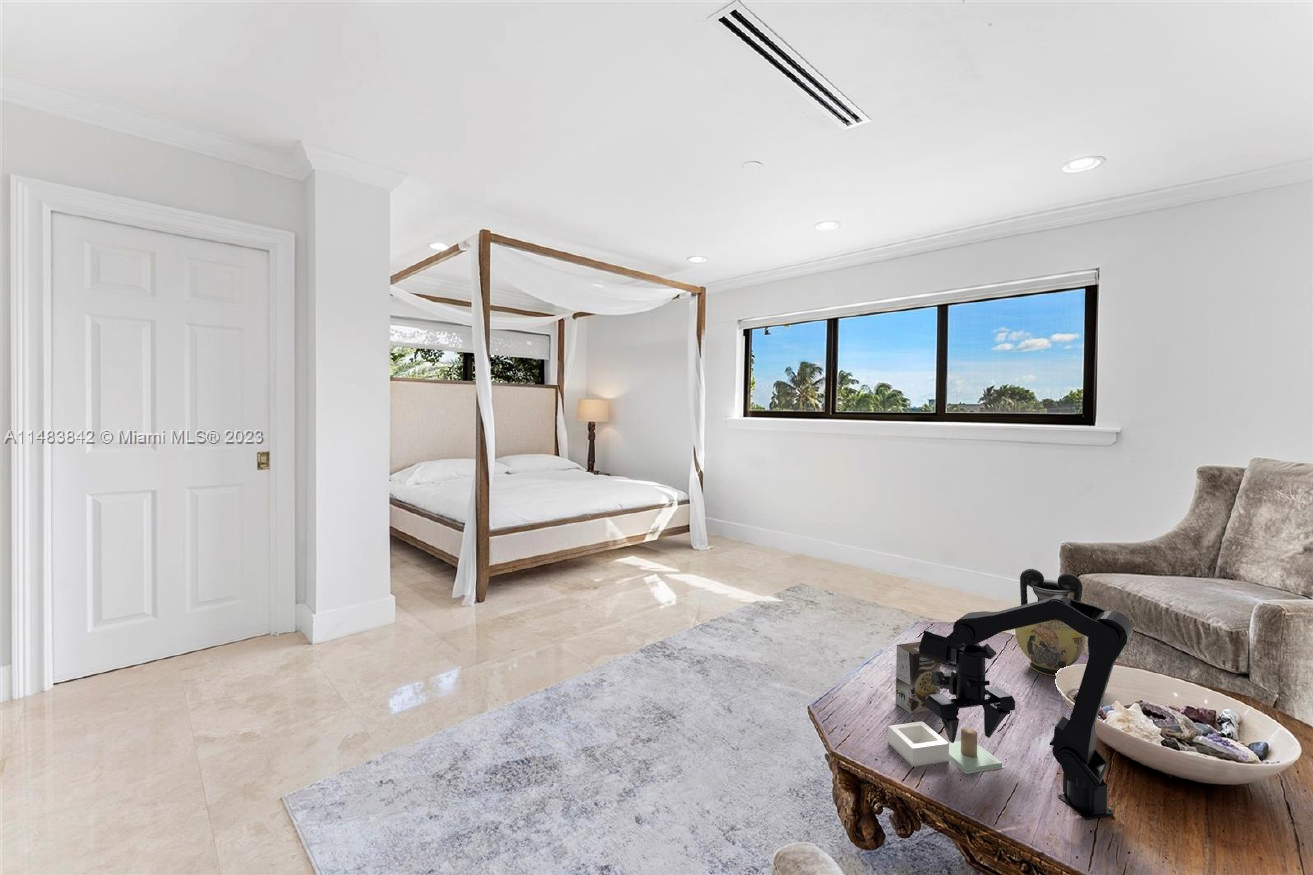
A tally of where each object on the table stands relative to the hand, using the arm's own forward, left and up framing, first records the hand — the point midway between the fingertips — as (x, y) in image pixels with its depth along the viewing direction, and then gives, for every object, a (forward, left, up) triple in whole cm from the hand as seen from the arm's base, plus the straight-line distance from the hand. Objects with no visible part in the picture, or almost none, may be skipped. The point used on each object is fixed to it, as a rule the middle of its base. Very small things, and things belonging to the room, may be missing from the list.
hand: (969, 739), depth 126 cm
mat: (0, 0, -4) cm, 4 cm away
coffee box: (+22, -3, -5) cm, 23 cm away
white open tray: (+4, +10, -4) cm, 12 cm away
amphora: (+32, -54, -5) cm, 63 cm away
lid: (0, 0, -4) cm, 4 cm away
